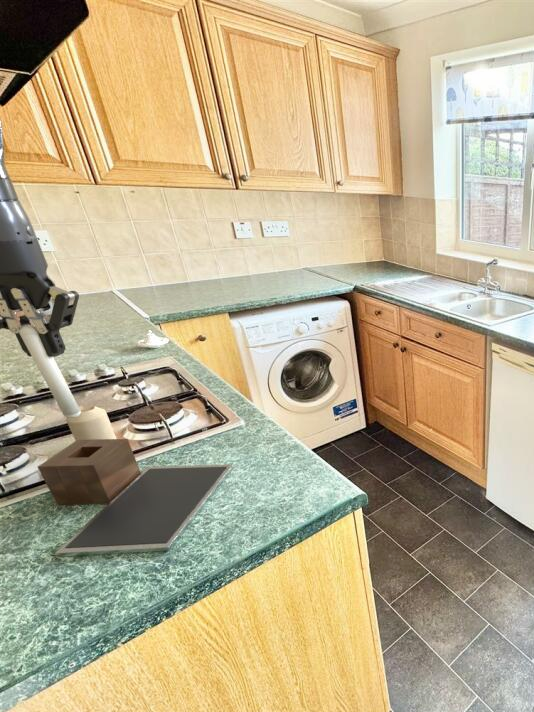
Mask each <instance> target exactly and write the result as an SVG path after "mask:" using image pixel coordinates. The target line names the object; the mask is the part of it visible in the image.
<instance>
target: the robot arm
mask: <svg viewBox="0 0 534 712" xmlns="http://www.w3.org/2000/svg"><path fill="white" fill-rule="evenodd" d="M4 141H5V140H4V133H3V124H2V118H1V117H0V330H2V329H3V330H8V331H10V332H11V333H13V334H14V335H15V337H16V339H17V341H18V343H19V345H20V348H21V350H22V351H23V353H25V354H26V355H27V357H29V358H30V357H31V358H32V356H31V354H30V352H29V350H28V348H27V347H26V345H25V343H24V341H23V339H22V337H21V335H20V333H19V330H20V328H22V327H23V326H28V325H29V326H34V327H36V329H37V331H38V332H39V333H40V334H38V335H39V337H40V339H41V342H42V344H43V347H44V349H45V351H46V354H47V356H49V357H53V358H57V357H58V356H60V355H63V354H64V353H65V351H66V344H65V342H64V339H63V338H62V335H61V332H60V330H61V329H63V328H65V327H69V326H72V324H73V320H74V318H75V315H76V310H77V306H78V303H79V298H80V293H79V292H77V291H76V290H70V291H68V290H65V289H62V288H60V287H58V286H56V284H55V282H54V281H53V280H52V279H51V277H50V276H49V275H48V273H47V270H48V267H49V264H48V262H47V259H46V257H45V255H44V252H43V250H42V247H41V244H40V242H39V239H38V236H37V235H36V232H35V230H34V227H33V225H32V222H31V220H30V217H29V216H28V213H27V212H26V210H25V209H24V207H23V205H22V203H21V201H20V200H19V196H18V194H17V191H16V189H15V186H14V183H13V182H12V179H11V177H10V173H9V171H8V169H7V167H6V161H5V157H6V156H5V154H6V153H5V142H4Z"/></svg>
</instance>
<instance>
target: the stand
mask: <svg viewBox="0 0 534 712" xmlns="http://www.w3.org/2000/svg"><path fill="white" fill-rule="evenodd" d="M37 469H38V471H39V473H40V475H41V476H42V477H41V478H42V479H43V480H44V482H45V485H46V487H47V489H48V491H49V492H50V494H51V497H52V498H53V500H54V502H55V504H56V505H57V506H60V507H61V506H81V505H108V504H109V503H110V502H111V501H112V500H113V499H114V498H115V497H116V496H117V495H118V494H120V493H121V492H122V491H123V490H124V489H125V488H126V487H127V486H128V485H129V484H130V483H132V482H133V481H134V480H135V479H136V478H137V477H138V476H139V475H140V474H141V473H142V472H141V470H140V466H139V464H138V462H137V459H136V457H135V454H134V452H133V449H132V447H131V444H130V441H129V439H128V438H117V439H93V440H76V441H75V440H74V441H73V442H71V444H68V446H66V447H65V448H63V449H62V450H60V451H59V452H57V453H56V454H54V455H53V456H50V458H49V459H47V460H45V461H43V462H42V463H41V464H39V465H38V466H37Z"/></svg>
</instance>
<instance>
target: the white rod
mask: <svg viewBox="0 0 534 712" xmlns="http://www.w3.org/2000/svg"><path fill="white" fill-rule="evenodd" d="M19 333H20V335H21V337H22V339H23V341H24V343H25V345H26V347H27V348H28V350H29V352H30V354H31V356H32V357H31V359H32V360H33V361H34V363H35V365H36V367H37V368H38V371H39V372H40V375H41V377H42V378H43V380H44V382H45V383H46V385H47V387H48V390H49V391H50V393H51V395H52V397H53V398H54V400H55V402H56V404H57V406H58V408H59V410H60V411H61V413H62V415H63V417H65V419H67V418H71V419H72V418H76V417H78V416H79V415H80V413H81V411H80V409H79V407H80V406H79V404H78V403H77V401H76V399H75V397H74V395H73V393H72V391H71V389H70V387H69V386H68V384H67V381H66V380H65V377H64V375H63V374H62V372H61V370H60V367H59V366H58V364H57V362H56V360H55V357H49V356H47V354H46V351H45V349H44V347H43V344H42V342H41V339H40V337H39V335H38V334H40V333H39V332H38V331H37V329H36V327H35V325H34V326H29V325H28V326H23V327H22V328H20V330H19Z"/></svg>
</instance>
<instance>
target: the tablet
mask: <svg viewBox="0 0 534 712" xmlns="http://www.w3.org/2000/svg"><path fill="white" fill-rule="evenodd" d="M234 469H235V465H234V464H233V463H231V464H195V465H194V464H192V465H191V464H190V465H156V466H148V467H147V468H146V469H144V470H143V471H142V472H141V474H140V475H139V476H138V477H137V478H136V479H135V480H134V481H133V482H132V483H130V484H129V485H128V486H127V487H126V488H125V489H124V490H123V491H122V492H121V493H120V494H118V495H117V496H116V497H115V498H114V499H113V500H112V501H111V502H110V503H109V504H106V505H105V506H104V507H103V508H102V509H101V510H100V511H99V512H98V513H96V515H95V516H93V517H92V518H91V519H90V520H89V521H88V522H86V524H85V525H84V526H82V527H81V528H80V529H79V530H78V531H77V532H76V533H75V534H74V535H73V536H72V537H70V538H69V539H68V540H67V541H66V542H65V543H64V544H63V545H62V546H60V548H59V549H58V550H56V551H55V552H54V554H55V556H56V557H57V558H59V557H60V558H61V557H79V556H98V555H115V554H134V553H135V554H137V553H153V552H154V553H155V552H170V551H171V550H172V548H173V547H174V546H175V545H176V544H177V542H178V541H179V539H180V538H181V537H182V536H183V534H184V533H185V532H186V531H187V530H188V528H189V527H190V525H191V524H192V523H193V521H194V520H195V519H196V518H197V517H198V515H200V513H201V511H202V510H203V508H205V506H206V505H207V504H208V502H209V501H210V500H211V498H212V497H213V496H214V494H215V493H216V492H217V491H218V489H219V488H220V487H221V486H222V484H223V483H224V482H225V481H226V479H227V478H228V476H229V475H230V474H231V472H232V471H233V470H234Z"/></svg>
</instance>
